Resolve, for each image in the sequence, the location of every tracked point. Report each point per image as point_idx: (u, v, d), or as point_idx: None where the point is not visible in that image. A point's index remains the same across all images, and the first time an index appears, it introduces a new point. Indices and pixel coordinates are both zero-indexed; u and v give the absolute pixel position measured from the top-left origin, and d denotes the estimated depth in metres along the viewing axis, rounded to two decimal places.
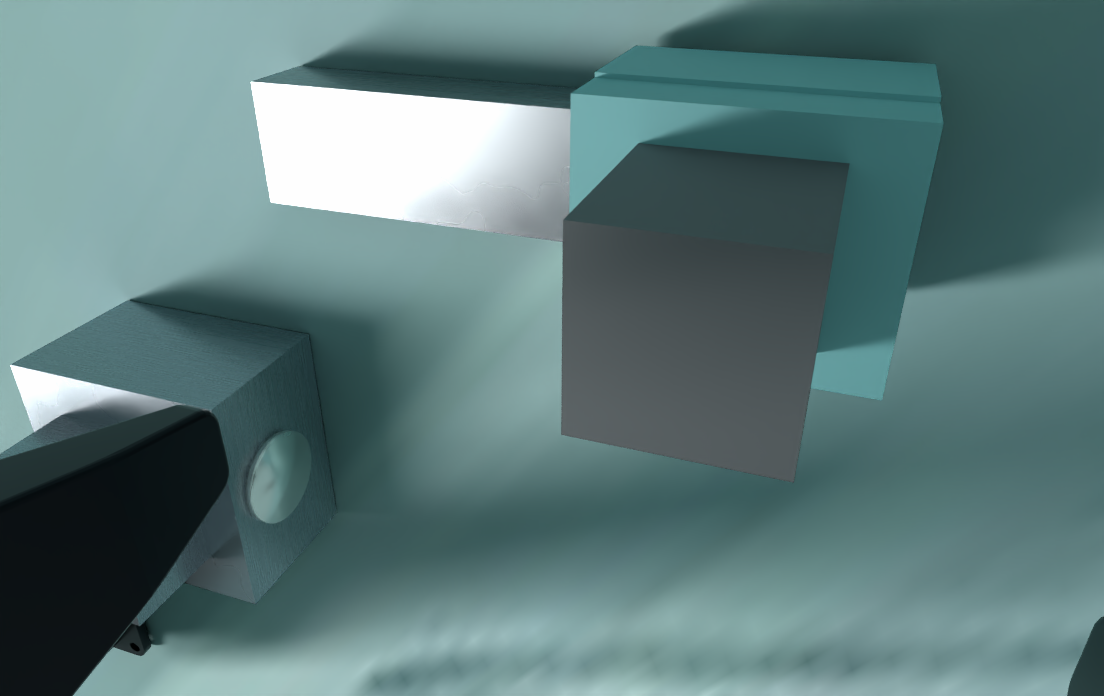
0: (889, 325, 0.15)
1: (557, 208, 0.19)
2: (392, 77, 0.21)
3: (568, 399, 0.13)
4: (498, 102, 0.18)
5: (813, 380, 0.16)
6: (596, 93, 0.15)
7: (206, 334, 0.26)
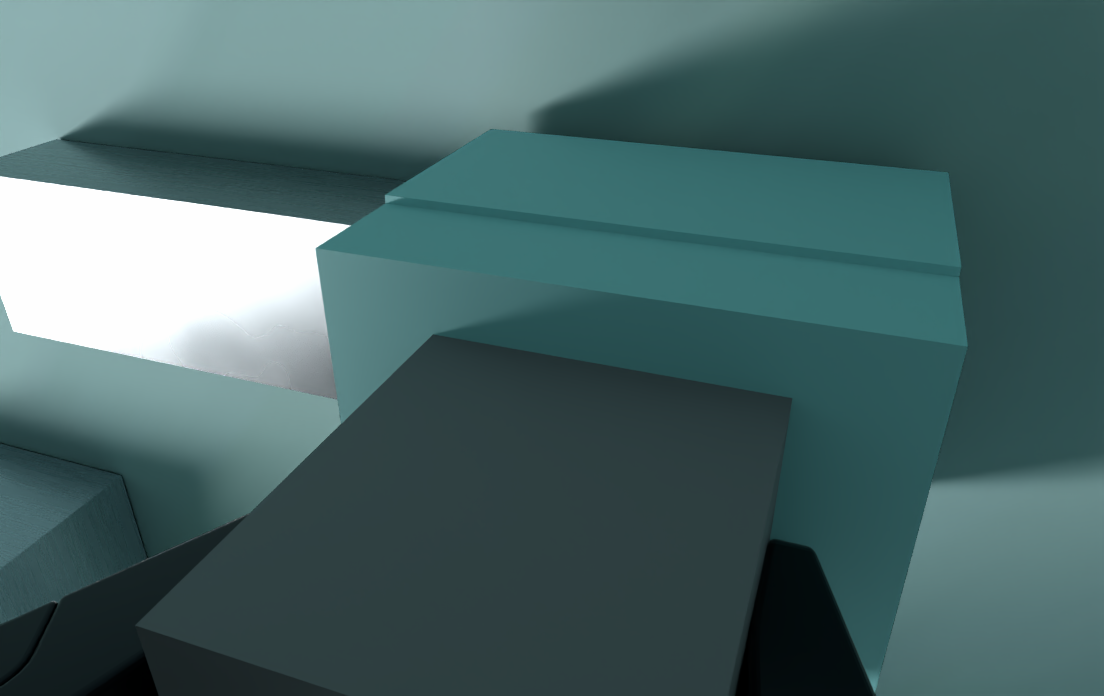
0: (869, 653, 0.08)
1: None
2: (167, 161, 0.14)
3: None
4: (285, 214, 0.12)
5: None
6: (359, 248, 0.09)
7: None
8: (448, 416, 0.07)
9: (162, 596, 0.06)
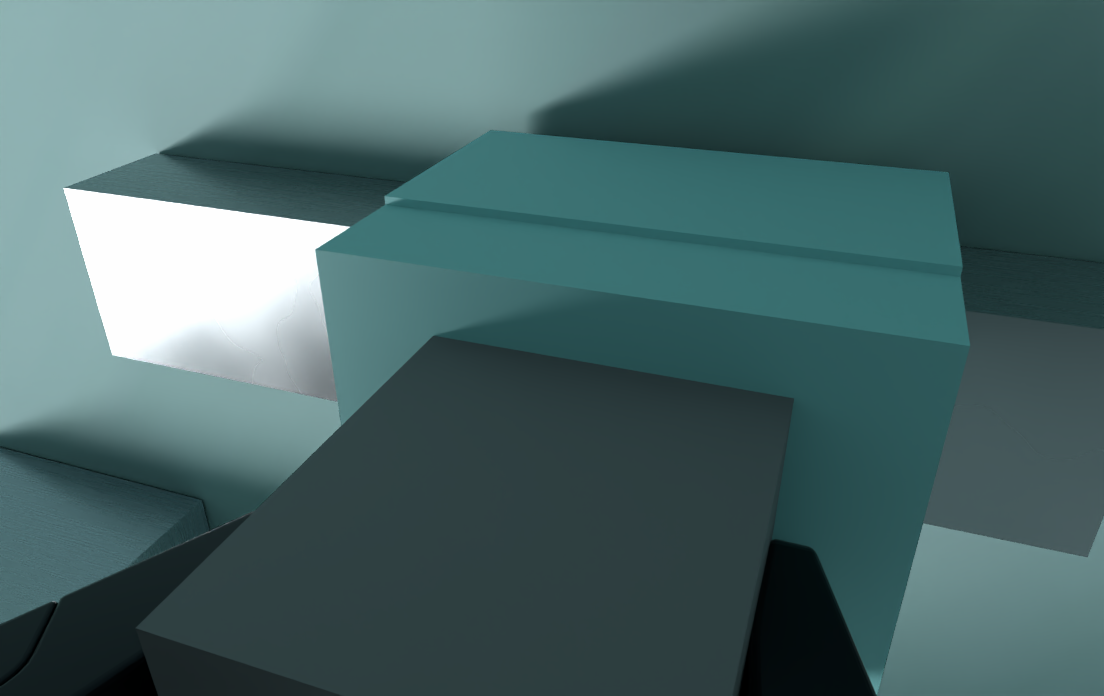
0: (871, 654, 0.08)
1: None
2: (282, 177, 0.14)
3: None
4: None
5: None
6: (360, 249, 0.08)
7: (62, 500, 0.19)
8: (449, 417, 0.07)
9: (162, 596, 0.06)
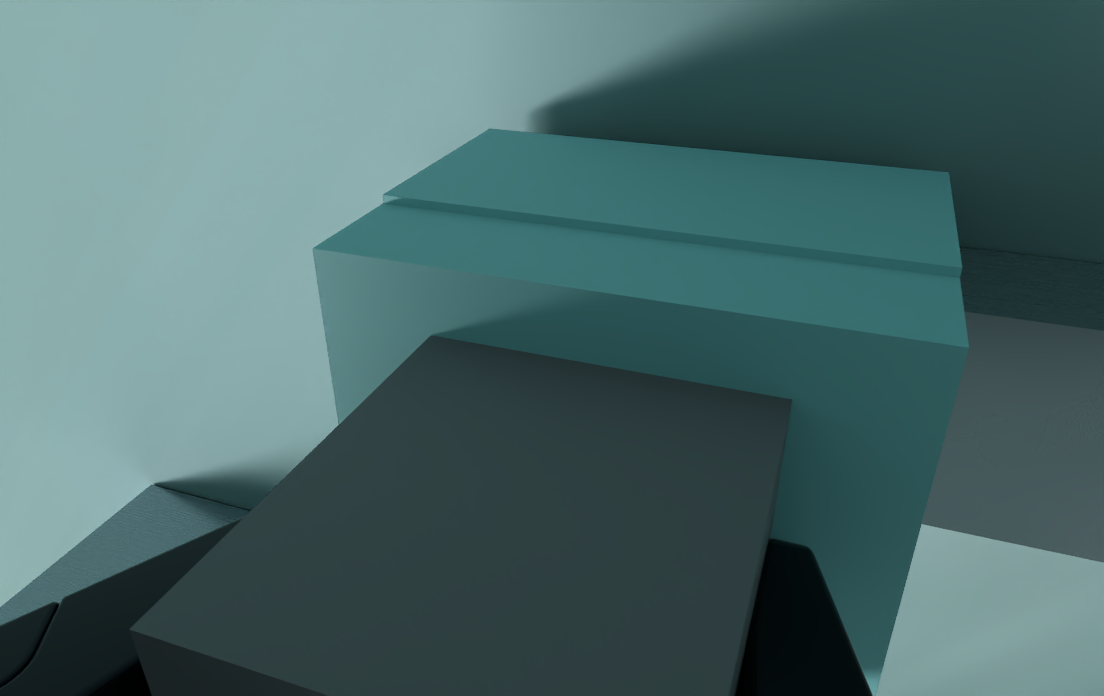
0: (869, 655, 0.08)
1: (953, 478, 0.10)
2: None
3: None
4: None
5: None
6: (357, 248, 0.08)
7: None
8: (446, 417, 0.07)
9: None
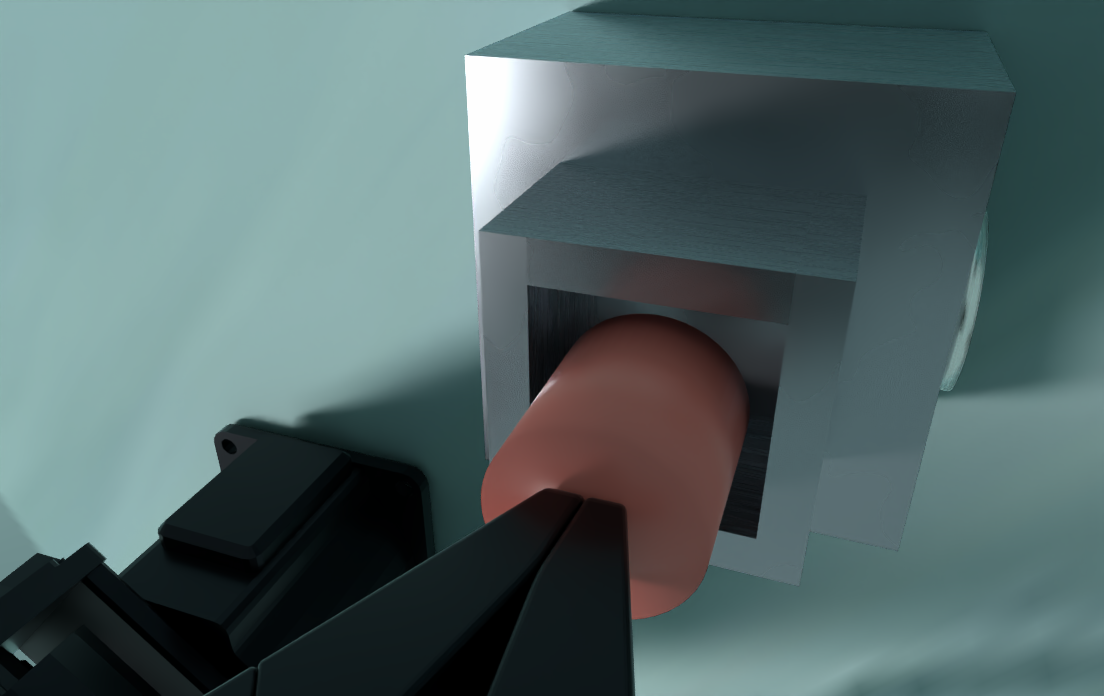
0: None
1: None
2: None
3: None
4: None
5: None
6: None
7: (789, 32, 0.14)
8: None
9: (369, 660, 0.06)
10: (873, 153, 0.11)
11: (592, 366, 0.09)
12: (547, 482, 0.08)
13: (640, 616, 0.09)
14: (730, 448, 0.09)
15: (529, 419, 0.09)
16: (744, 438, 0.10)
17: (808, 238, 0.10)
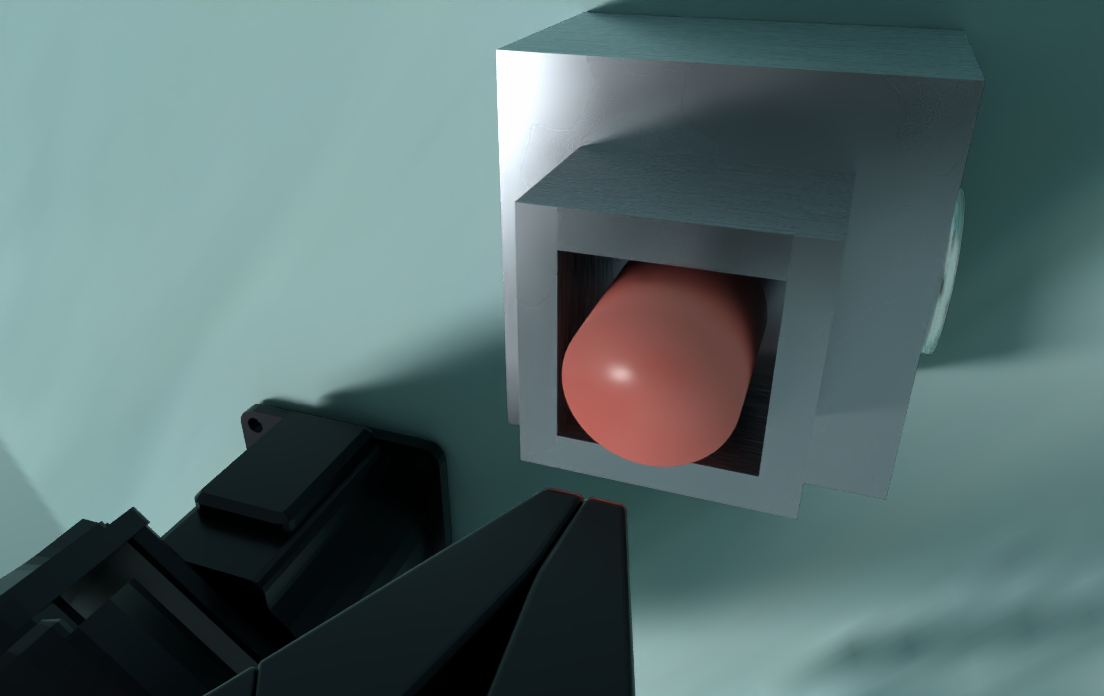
0: None
1: None
2: None
3: None
4: None
5: None
6: None
7: (786, 30, 0.15)
8: None
9: (369, 661, 0.06)
10: (861, 135, 0.12)
11: (647, 271, 0.12)
12: (615, 354, 0.11)
13: (685, 463, 0.11)
14: (754, 334, 0.12)
15: (601, 307, 0.11)
16: None
17: (804, 208, 0.11)
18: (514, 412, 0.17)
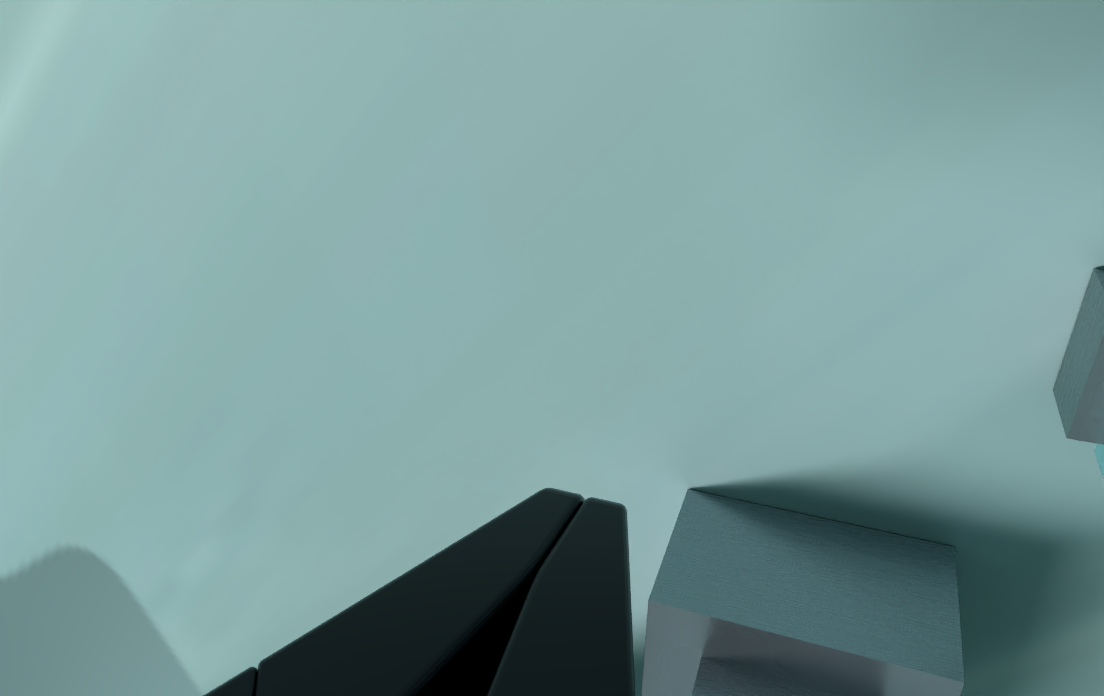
0: None
1: None
2: None
3: None
4: None
5: None
6: None
7: (834, 547, 0.22)
8: None
9: (369, 661, 0.06)
10: (887, 690, 0.19)
11: None
12: None
13: None
14: None
15: None
16: None
17: None
18: None
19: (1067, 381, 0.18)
